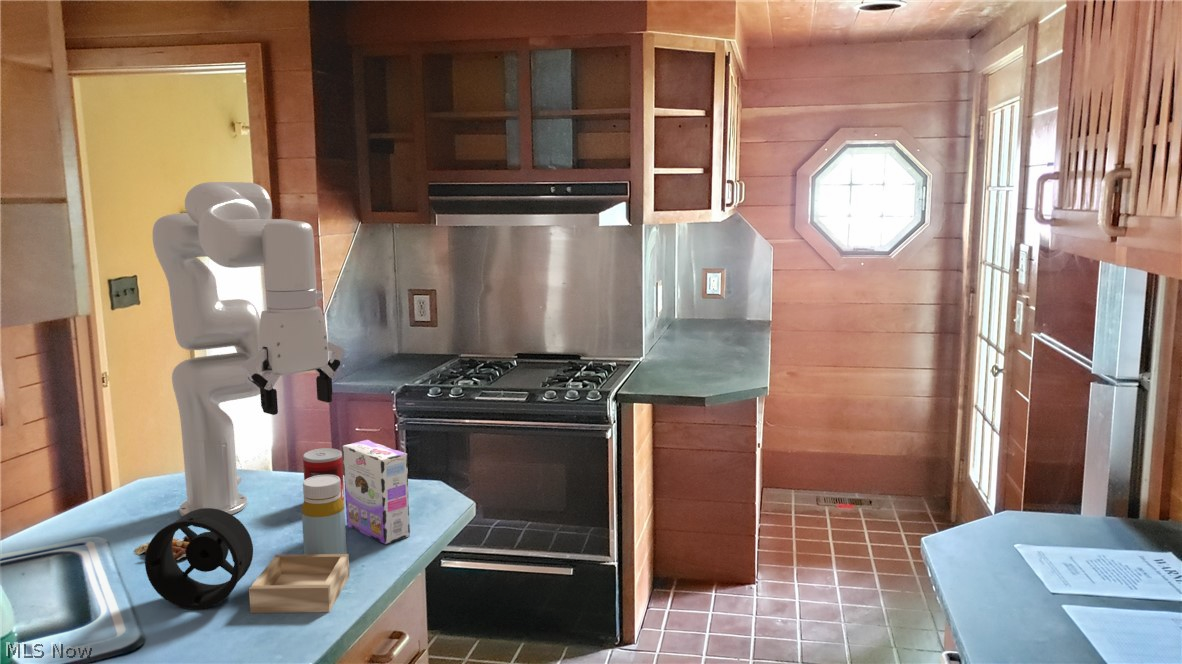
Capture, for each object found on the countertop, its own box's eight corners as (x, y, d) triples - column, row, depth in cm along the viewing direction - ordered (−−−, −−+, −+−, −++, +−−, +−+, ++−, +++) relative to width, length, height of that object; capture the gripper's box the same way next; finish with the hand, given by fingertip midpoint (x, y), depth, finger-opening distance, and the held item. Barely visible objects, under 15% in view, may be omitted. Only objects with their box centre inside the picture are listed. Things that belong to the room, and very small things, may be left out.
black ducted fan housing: (261, 498, 133) (234, 522, 124) (267, 580, 136) (241, 610, 126) (174, 497, 133) (140, 521, 124) (181, 580, 136) (148, 610, 126)
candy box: (411, 536, 154) (408, 452, 151) (384, 546, 149) (381, 460, 147) (371, 517, 163) (368, 437, 160) (345, 525, 159) (341, 444, 156)
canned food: (328, 494, 175) (326, 445, 173) (352, 503, 170) (350, 452, 168) (297, 505, 169) (294, 454, 167) (321, 514, 164) (318, 462, 162)
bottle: (334, 573, 139) (330, 489, 136) (297, 569, 140) (292, 485, 138) (353, 555, 145) (350, 475, 143) (318, 552, 147) (313, 472, 144)
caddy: (277, 577, 137) (276, 554, 136) (349, 576, 137) (348, 553, 137) (250, 613, 125) (248, 588, 125) (329, 611, 126) (328, 587, 125)
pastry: (148, 544, 151) (147, 526, 150) (208, 548, 149) (206, 530, 148) (122, 560, 144) (120, 541, 143) (183, 565, 142) (182, 546, 142)
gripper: (325, 294, 136) (331, 393, 139) (226, 304, 123) (234, 414, 126) (353, 297, 132) (358, 400, 134) (253, 308, 118) (260, 422, 121)
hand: (298, 407), depth 130 cm, fingers open, 9 cm apart
